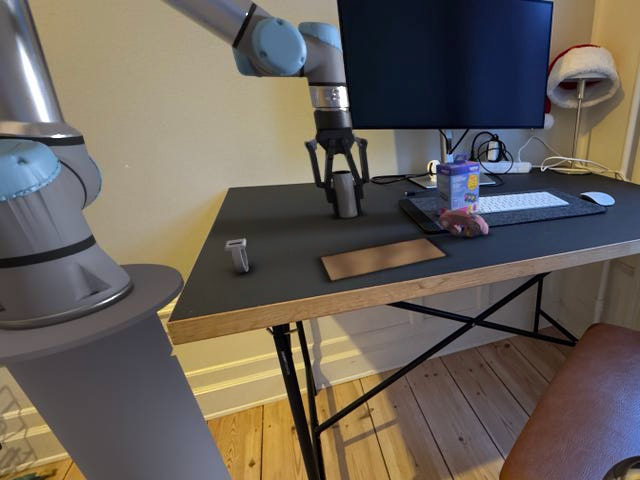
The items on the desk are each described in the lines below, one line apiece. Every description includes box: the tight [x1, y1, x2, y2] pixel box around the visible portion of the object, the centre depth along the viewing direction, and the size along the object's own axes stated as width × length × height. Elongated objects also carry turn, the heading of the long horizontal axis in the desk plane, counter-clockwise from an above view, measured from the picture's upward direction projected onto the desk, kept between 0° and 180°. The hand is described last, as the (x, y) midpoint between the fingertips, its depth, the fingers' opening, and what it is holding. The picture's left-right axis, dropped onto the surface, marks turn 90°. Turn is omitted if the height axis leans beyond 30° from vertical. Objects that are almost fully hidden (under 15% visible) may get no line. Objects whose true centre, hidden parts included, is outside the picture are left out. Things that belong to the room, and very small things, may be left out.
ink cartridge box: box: [435, 152, 481, 217], centre depth 88 cm, size 10×6×14 cm, turn 137°
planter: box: [331, 169, 359, 219], centre depth 87 cm, size 4×4×10 cm
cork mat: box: [320, 237, 447, 282], centre depth 67 cm, size 20×10×1 cm, turn 120°
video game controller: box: [438, 209, 489, 238], centre depth 76 cm, size 10×5×7 cm
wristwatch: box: [224, 238, 249, 274], centre depth 60 cm, size 6×3×5 cm, turn 28°
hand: (347, 213), depth 89 cm, fingers closed on planter, 5 cm apart
